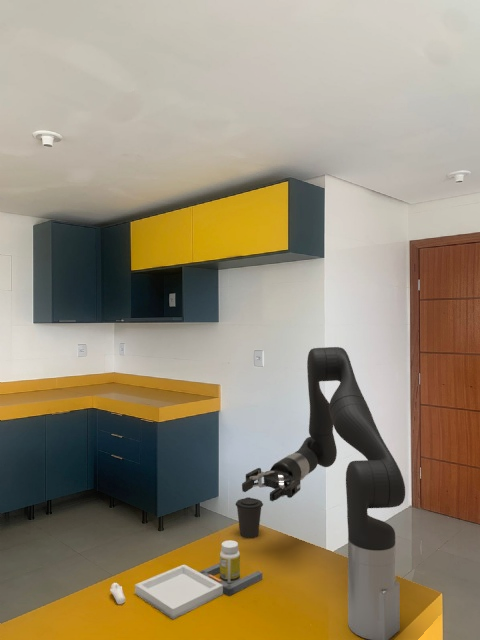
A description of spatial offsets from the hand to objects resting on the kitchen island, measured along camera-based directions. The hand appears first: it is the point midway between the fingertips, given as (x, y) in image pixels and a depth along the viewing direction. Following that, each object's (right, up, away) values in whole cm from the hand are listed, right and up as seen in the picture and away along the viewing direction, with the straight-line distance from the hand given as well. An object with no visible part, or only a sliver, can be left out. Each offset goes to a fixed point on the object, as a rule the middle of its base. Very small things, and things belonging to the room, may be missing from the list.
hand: (256, 492), depth 127 cm
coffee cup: (-2, -19, +20) cm, 27 cm away
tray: (-18, -18, -14) cm, 29 cm away
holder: (-7, -18, -7) cm, 21 cm away
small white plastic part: (-31, -18, -16) cm, 40 cm away
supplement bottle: (-7, -19, -7) cm, 21 cm away
